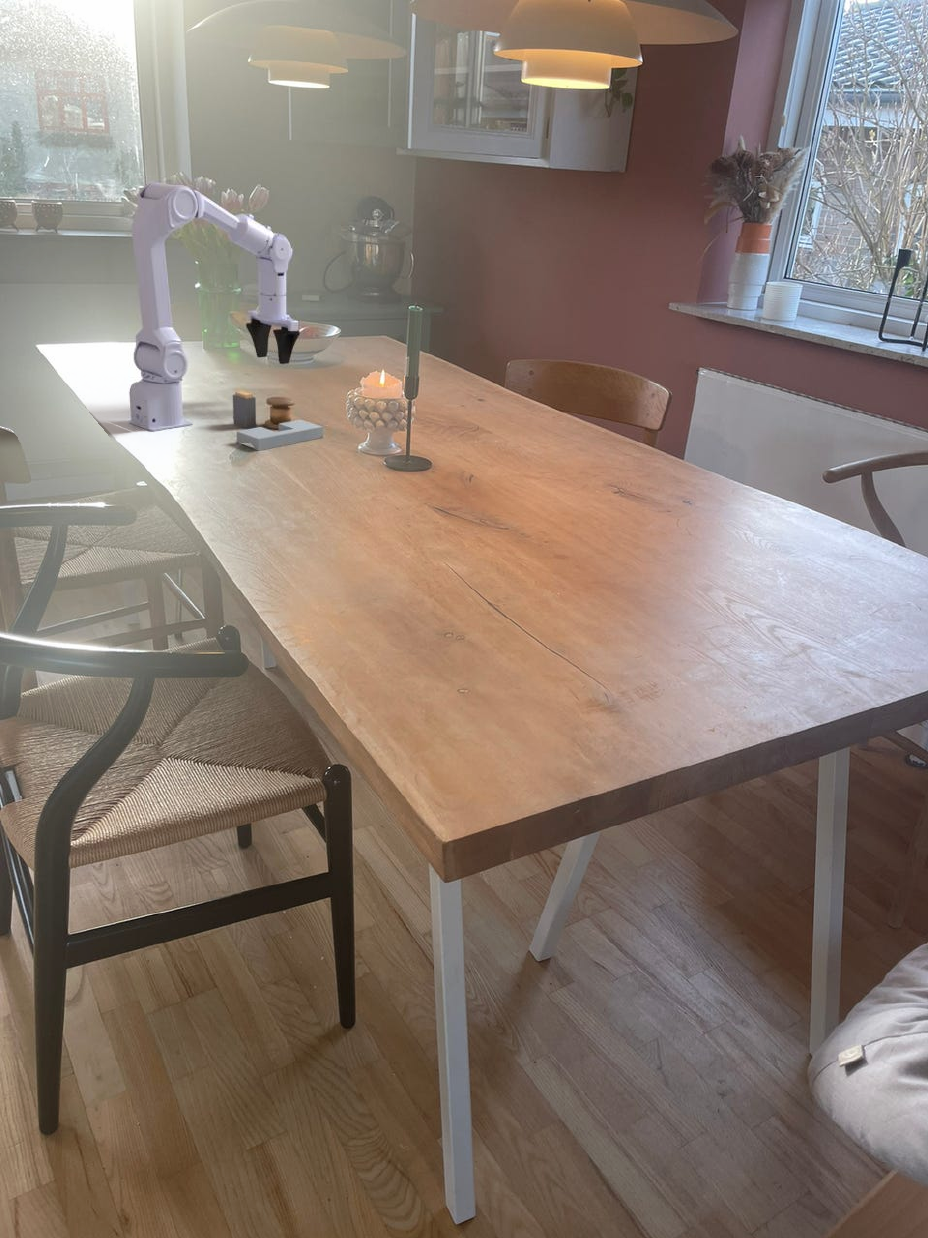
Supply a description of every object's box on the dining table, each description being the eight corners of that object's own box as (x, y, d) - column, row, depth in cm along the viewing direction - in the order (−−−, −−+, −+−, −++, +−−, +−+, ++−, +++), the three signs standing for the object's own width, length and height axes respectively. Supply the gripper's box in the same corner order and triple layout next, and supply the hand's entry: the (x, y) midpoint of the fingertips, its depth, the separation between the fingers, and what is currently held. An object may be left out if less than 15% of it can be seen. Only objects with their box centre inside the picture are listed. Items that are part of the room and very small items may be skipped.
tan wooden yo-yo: (278, 431, 189) (278, 405, 187) (258, 424, 193) (257, 398, 191) (303, 426, 194) (303, 401, 192) (282, 419, 197) (282, 395, 195)
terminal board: (258, 450, 176) (258, 439, 175) (236, 442, 180) (236, 431, 179) (322, 437, 188) (322, 426, 187) (300, 430, 191) (300, 419, 190)
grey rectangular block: (246, 428, 189) (245, 395, 187) (233, 424, 192) (232, 391, 189) (256, 426, 191) (255, 394, 188) (243, 422, 193) (242, 390, 191)
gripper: (309, 298, 196) (309, 364, 202) (266, 288, 205) (266, 352, 211) (283, 299, 191) (283, 367, 197) (239, 289, 200) (240, 355, 206)
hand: (273, 360), depth 204 cm, fingers open, 7 cm apart
